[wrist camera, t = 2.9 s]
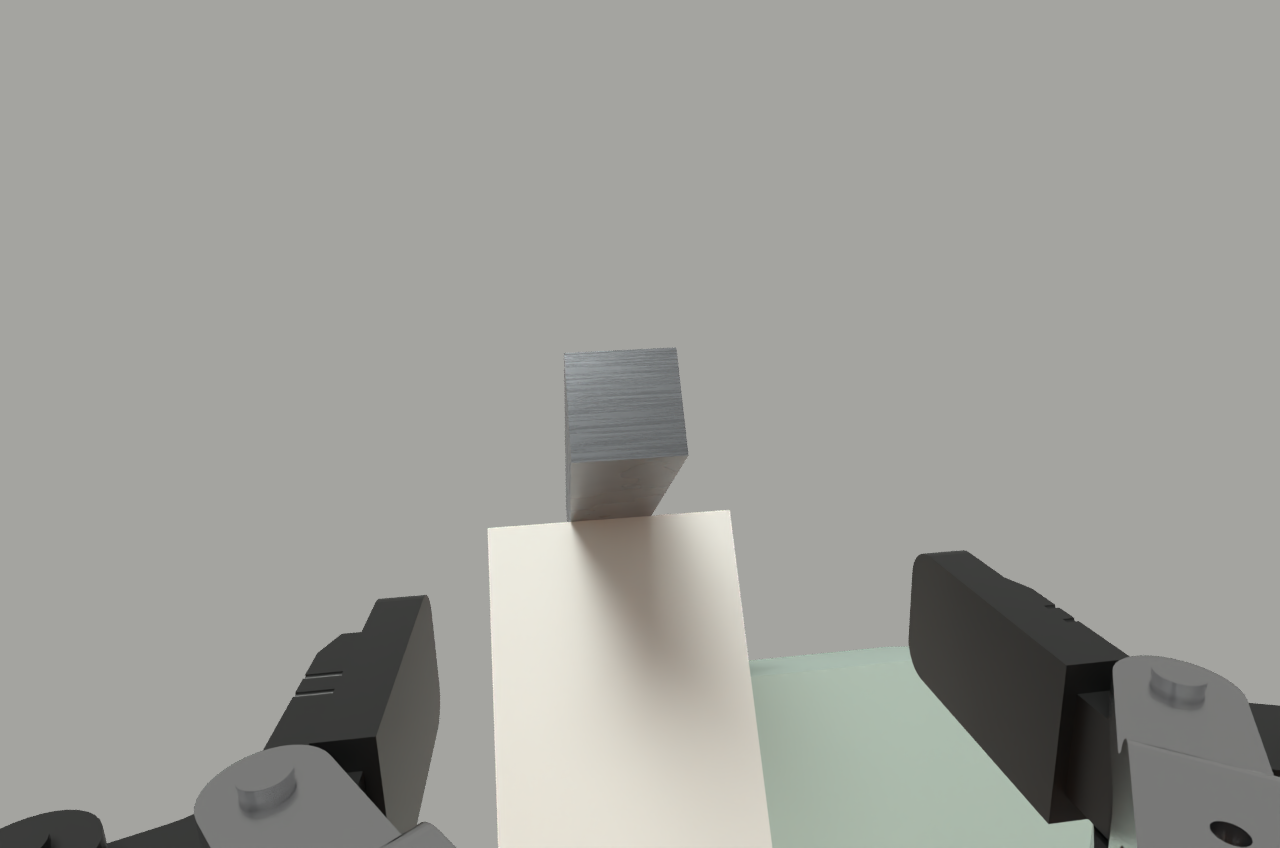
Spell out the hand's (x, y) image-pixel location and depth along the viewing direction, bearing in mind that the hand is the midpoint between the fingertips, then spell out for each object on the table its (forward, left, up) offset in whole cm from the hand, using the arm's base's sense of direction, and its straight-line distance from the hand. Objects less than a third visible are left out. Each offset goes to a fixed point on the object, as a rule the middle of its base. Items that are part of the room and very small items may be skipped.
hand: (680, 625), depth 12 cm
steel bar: (-6, +16, +4) cm, 17 cm away
